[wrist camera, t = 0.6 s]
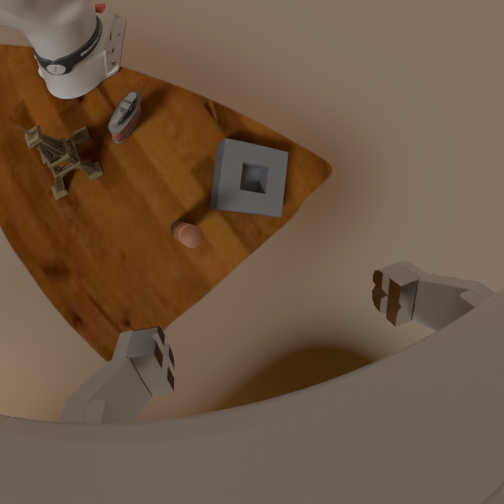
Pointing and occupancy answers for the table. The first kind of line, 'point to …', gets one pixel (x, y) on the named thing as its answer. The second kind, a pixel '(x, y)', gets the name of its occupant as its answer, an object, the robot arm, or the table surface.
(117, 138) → the lighter
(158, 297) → the table surface
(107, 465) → the robot arm
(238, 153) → the holder
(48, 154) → the eiffel tower
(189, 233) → the peg
